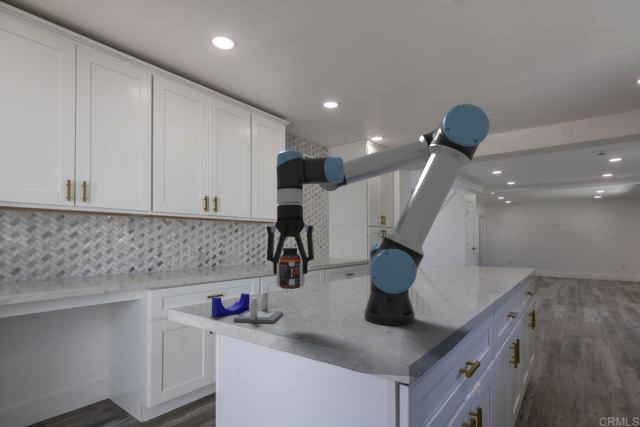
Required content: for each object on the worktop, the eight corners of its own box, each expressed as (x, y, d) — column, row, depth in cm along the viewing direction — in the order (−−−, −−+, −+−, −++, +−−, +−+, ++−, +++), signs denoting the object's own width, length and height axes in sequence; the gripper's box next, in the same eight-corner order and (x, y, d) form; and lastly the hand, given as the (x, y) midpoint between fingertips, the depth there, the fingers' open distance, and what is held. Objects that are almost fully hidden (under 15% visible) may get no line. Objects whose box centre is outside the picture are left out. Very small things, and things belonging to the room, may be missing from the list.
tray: (283, 314, 112) (283, 292, 113) (272, 323, 99) (273, 299, 100) (248, 312, 114) (248, 291, 114) (232, 322, 101) (233, 298, 101)
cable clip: (242, 310, 118) (242, 292, 119) (249, 312, 115) (249, 294, 116) (209, 315, 110) (209, 296, 110) (216, 317, 107) (216, 298, 107)
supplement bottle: (297, 289, 94) (297, 248, 95) (277, 289, 95) (276, 248, 96) (303, 286, 100) (302, 247, 101) (283, 286, 101) (283, 247, 102)
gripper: (323, 205, 102) (325, 284, 100) (262, 207, 104) (262, 283, 103) (320, 202, 95) (321, 287, 93) (254, 204, 97) (254, 287, 95)
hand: (290, 285), depth 98 cm, fingers closed on supplement bottle, 6 cm apart
